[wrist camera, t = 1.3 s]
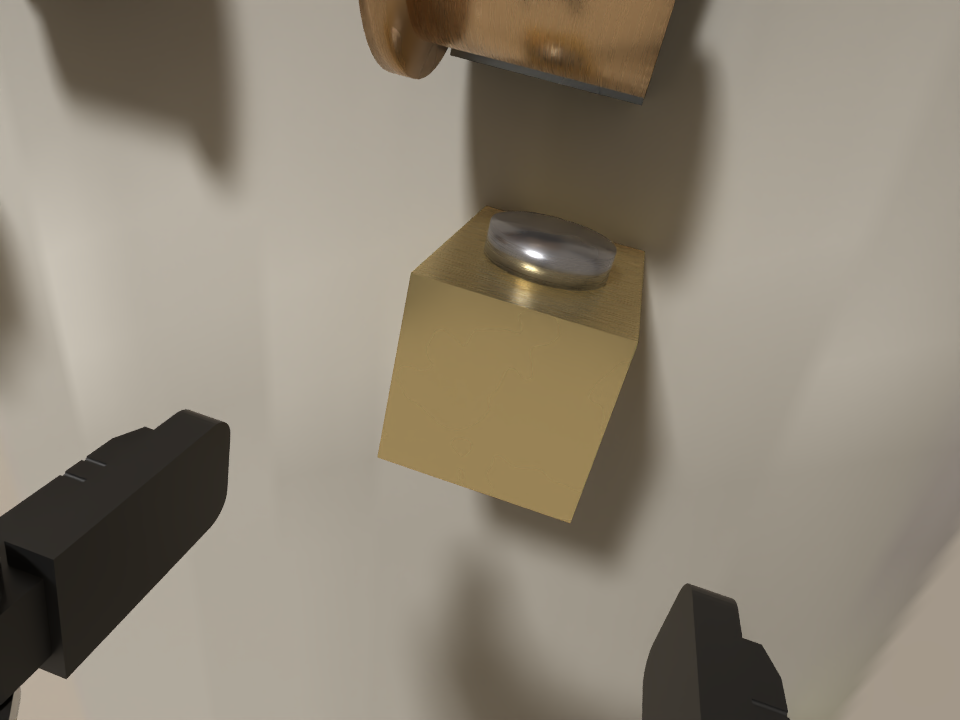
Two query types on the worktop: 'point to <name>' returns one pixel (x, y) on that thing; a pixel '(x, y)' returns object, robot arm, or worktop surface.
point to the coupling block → (514, 358)
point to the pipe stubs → (525, 39)
